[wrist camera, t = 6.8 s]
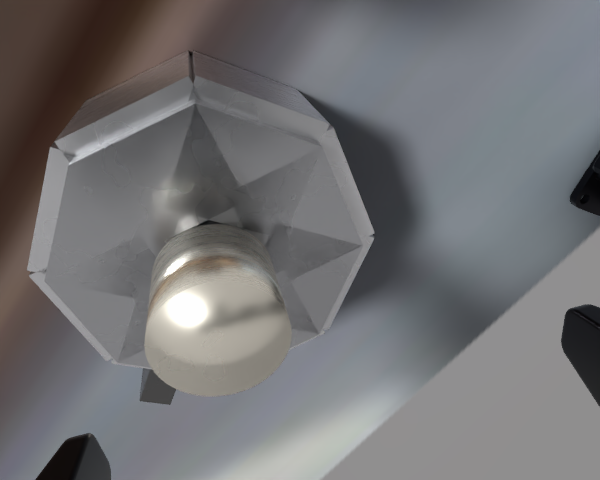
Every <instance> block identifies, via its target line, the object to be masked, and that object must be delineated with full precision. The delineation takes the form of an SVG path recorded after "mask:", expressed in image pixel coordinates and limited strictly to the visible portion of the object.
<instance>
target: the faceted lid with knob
mask: <svg viewBox="0 0 600 480" xmlns="http://www.w3.org/2000/svg"><path fill="white" fill-rule="evenodd" d="M206 220H211V221H215V222H219V223H223V224H227V225H230V226H234V227H238V228H242V229H245V231H246V232H248V233H250V234H251V235H253V236H254V237H256V238H257V239H258V240H259V241H260V242H261V243H262V244H263V245H264V246H265V248H266V250H267V251H268V253H269V255H270V257H271V260H272V264H273V267H274V270H275V274H276V277H277V280H278V284H279V287H280V290H281V294H282V297H283V300H284V304H285V307H286V310H287V314H288V317H289V320H290V324H291V331H292V337H291V344H290V348H289V350H291V349H293V348H295V347H297V346H299V345H301V344H303V343H305V342H308V341H310V340H312V339H314V338H316V337H318V336H320V335H322V334H324V333H325V332H324V329H326V330H329V328H330V326H331V324H332V322H333V320H334V318H335V316H336V314H337V312H338V310H339V308H340V306H341V304H342V302H343V300H344V298H345V296H346V294H347V292H348V290H349V288H350V286H351V284H352V282H353V280H354V278H355V276H356V274H357V272H358V270H359V268H360V266H361V264H362V262H363V260H364V258H365V256H366V254H367V252H368V250H369V248H370V246H371V244H372V242H373V240H374V237H373V235H372V234H374V233H375V232H374V230H373V227H372V224H371V222H370V219H369V217H368V214H367V212H366V209H365V207H364V204H363V201H362V199H361V196H360V194H359V191H358V189H357V186H356V184H355V181H354V178H353V176H352V173H351V171H350V168H349V166H348V163H347V160H346V158H345V155H344V153H343V150H342V148H341V145H340V143H339V140H338V137H337V135H336V132H335V130H334V128H333V127H332V126H331V125H330V124H329V122H328V121H327V120H326V119H325V118H324V117H323V116H322V115H321V114H320V113H319V112H318V111H317V110H316V109H315V108H314V107H313V106H312V105H311V104H310V103H309V101H308V100H307V99H306V98H305V97H304V96H303V95H302V94H301V93H300V92H299V91H298V90H297V89H294V88H292V87H289V86H286V85H284V84H281V83H278V82H276V81H273V80H271V79H268V78H265V77H263V76H260V75H257V74H255V73H252V72H249V71H247V70H244V69H241V68H239V67H236V66H234V65H231V64H228V63H226V62H223V61H220V60H218V59H215V58H212V57H210V56H207V55H205V54H202V53H199V52H197V51H194V50H193V53H192V56H190V54H189V52H188V51H186V52H184V53H181V54H179V55H177V56H175V57H173V58H171V59H169V60H167V61H165V62H163V63H161V64H159V65H157V66H155V67H153V68H151V69H149V70H147V71H145V72H143V73H141V74H139V75H137V76H135V77H133V78H131V79H129V80H127V81H125V82H123V83H121V84H119V85H116V86H114V87H112V88H110V89H108V90H106V91H104V92H102V93H100V94H98V95H96V96H94V97H92V98H90V99H88V100H86V101H85V103H84V104H83V105H82V106H81V108H80V109H79V110H78V112H77V113H76V114H75V115H74V117H73V118H72V119H71V121H70V122H69V123H68V125H67V126H66V127H65V128H64V130H63V131H62V132H61V134H60V135H59V136H58V138H57V139H56V140H55V142H54V143H53V144H52V145H51V147H50V151H49V156H48V162H47V167H46V172H45V178H44V183H43V188H42V194H41V199H40V204H39V210H38V215H37V220H36V225H35V231H34V236H33V241H32V247H31V252H30V257H29V263H28V268H27V270H28V271H31V272H30V274H29V276H30V278H31V279H32V280H33V281H34V282H35V283H36V284H37V285H38V286H39V287H40V289H41V290H42V291H43V292H44V293H45V294H46V295H47V296H48V297H49V298H50V300H51V301H52V302H53V303H54V304H55V305H56V306H57V307H58V308H59V309H60V311H61V312H62V313H63V314H64V315H65V316H66V317H67V318H68V319H69V320H70V321H71V323H72V324H73V325H74V326H75V327H76V328H77V329H78V330H79V331H80V332H81V334H82V335H83V336H84V337H85V338H86V339H87V340H88V341H89V342H90V343H91V345H92V346H93V347H94V348H95V349H96V350H97V351H98V352H99V353H100V354H101V356H102V357H103V358H104V359H105V360H106V361H108V360H110V359H112V364H118V365H125V366H132V367H139V368H143V373H142V383H141V392H140V401H144V402H152V403H160V404H169V405H170V404H171V401H172V399H173V396H174V393H175V391H176V389H175V388H173V387H171V386H170V385H168V384H166V383H165V382H164V381H162V380H161V379H160V378H159V377H158V376H157V375H156V374H155V372H154V371H153V370H152V368H151V367H150V365H149V363H148V361H147V357H146V354H145V347H144V344H145V332H146V323H147V314H148V305H149V295H150V286H151V277H152V270H153V265H154V262H155V260H156V257H157V256H158V254H159V252H160V251H161V250H162V248H163V247H164V246H165V245H166V244H167V243H168V242H169V241H170V240H171V239H172V238H173V236H175V235H177V234H179V233H181V232H183V231H186V230H188V229H190V228H192V227H194V226H196V225H198V224H200V223H202V222H204V221H206ZM289 350H288V351H289Z"/></svg>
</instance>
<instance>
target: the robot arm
mask: <svg viewBox="0 0 600 480" xmlns="http://www.w3.org/2000/svg"><path fill="white" fill-rule="evenodd" d="M583 195H584V196H583ZM582 196H583V198H582V199H581V197H582ZM580 199H581V200H580ZM570 202H571V204H573V205H574V206H576V207H578V208H580V209H582V210H585V211H588V212H591V213H593V214H596V215H599V216H600V151H599V152H598V154H597V155H596V157H595V158H594V160H593V162H592V163H591V165H590V166H589V168H588V169H587V171H586V172H585V174H584V175H583V177H582V178H581V180H580V181H579V183H578V184H577V186H576V188H575V189H574V191H573V192H572V194H571V196H570ZM561 342H562V348H563V350H564V353H565V354H566V356H567V358H568V359H569V361H570V362H571V364H572V365H573V367H574V368H575V370H576V371H577V373H578V374H579V376H580V377H581V379H582V380H583V382H584V383H585V385H586V387H587V388H588V389H589V391H590V393H591V394H592V396H593V397H594V399H595V400H596V402H597V403H598V405H599V406H600V308H599V307H596V306H593V305H582V306H578V307H574V308H571V309H569V310H568V311H567V312H566V315H565V319H564V326H563V332H562V339H561ZM36 480H111V469H110V465H109V462H108V460H107V458H106V456H105V454H104V452H103V450H102V449H101V447H100V445H99V443H98V441H97V440H96V438H95V437H94V435H92V434H90V433H87V434H83V435H79V436H75V437H72V438H69V439H67V440H66V441H65V442H64V443H63V444H62V445H61V447H60V448H59V449H58V451H57V452H56V453H55V455H54V456H53V457H52V459H51V460H50V461H49V462H48V464H47V465H46V466H45V468H44V469H43V470H42V472H41V473H40V474H39V476H38V477H37V478H36Z"/></svg>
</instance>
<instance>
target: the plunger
mask: <svg viewBox="0 0 600 480" xmlns="http://www.w3.org/2000/svg"><path fill="white" fill-rule="evenodd" d="M291 337H292V331H291V324H290V320H289V317H288V314H287V310H286V307H285V304H284V300H283V297H282V294H281V290H280V287H279V284H278V280H277V277H276V274H275V270H274V267H273V264H272V260H271V257H270V255H269V253H268V251H267V250H266V248H265V246H264V245H263V244H262V243H261V242H260V241H259V240H258V239H257V238H256V237H254V236H253V235H251V234H250V233H248V232H246V231H245V229H242V228H238V227H234V226H230V225H227V224H223V223H219V222H215V221H211V220H206V221H204V222H202V223H200V224H198V225H196V226H194V227H192V228H190V229H188V230H186V231H183V232H181V233H179V234H177V235H175V236H173V238H172V239H171V240H170V241H169V242H168V243H167V244H166V245H165V246H164V247H163V248H162V250H161V251H160V252H159V254H158V256H157V257H156V260H155V262H154V265H153V270H152V277H151V286H150V295H149V305H148V314H147V323H146V332H145V344H144V347H145V354H146V357H147V361H148V363H149V365H150V367H151V368H152V370H153V371H154V372H155V374H156V375H157V376H158V377H159V378H160V379H161V380H162V381H164V382H165V383H166V384H168V385H170V386H171V387H173V388H175V389H177V390H180V391H182V392H185V393H189V394H193V395H198V396H225V395H230V394H235V393H238V392H242V391H245V390H247V389H249V388H252V387H254V386H256V385H257V384H259V383H261V382H262V381H264V380H265V379H267V378H268V377H269V376H270V375H272V374H273V373H274V372H275V371H276V370H277V369H278V367H279V366H280V365H281V363H282V362H283V361H284V359H285V357H286V355H287V353H288V350H289V348H290V344H291Z"/></svg>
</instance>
